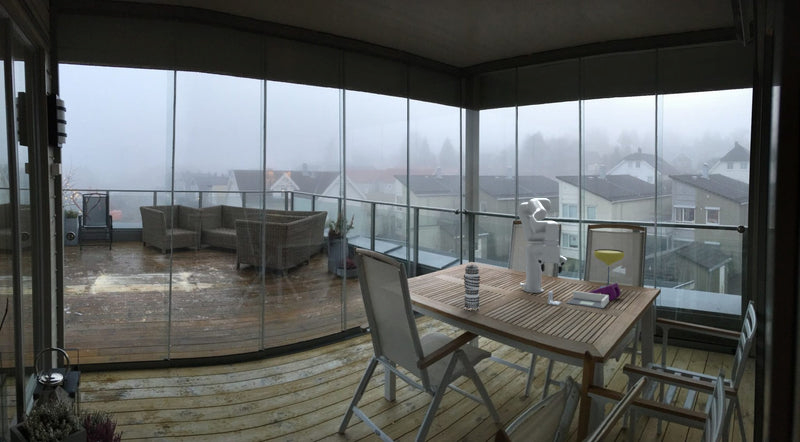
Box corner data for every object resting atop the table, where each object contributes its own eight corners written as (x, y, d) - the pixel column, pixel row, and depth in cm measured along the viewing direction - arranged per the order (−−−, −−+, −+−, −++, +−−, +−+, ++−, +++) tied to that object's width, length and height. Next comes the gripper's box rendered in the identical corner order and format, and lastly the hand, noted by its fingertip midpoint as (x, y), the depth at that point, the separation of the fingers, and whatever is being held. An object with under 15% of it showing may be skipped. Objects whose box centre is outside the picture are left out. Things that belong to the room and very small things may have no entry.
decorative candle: (467, 311, 257) (467, 267, 255) (461, 307, 266) (461, 264, 264) (482, 310, 260) (483, 266, 258) (475, 305, 269) (475, 263, 267)
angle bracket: (547, 304, 271) (548, 292, 270) (551, 301, 276) (551, 290, 275) (558, 305, 268) (558, 293, 267) (561, 303, 272) (561, 291, 272)
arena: (566, 303, 271) (566, 296, 271) (573, 298, 283) (573, 290, 283) (603, 308, 260) (603, 300, 259) (608, 302, 272) (608, 295, 271)
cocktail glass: (624, 287, 311) (625, 250, 309) (621, 292, 296) (622, 254, 294) (596, 284, 321) (596, 248, 319) (591, 289, 306) (592, 252, 304)
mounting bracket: (589, 306, 286) (617, 298, 274) (584, 293, 288) (611, 285, 276) (595, 303, 293) (622, 295, 281) (590, 291, 294) (616, 282, 282)
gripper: (535, 243, 272) (534, 271, 273) (565, 244, 262) (564, 274, 264) (539, 241, 278) (538, 269, 280) (568, 243, 268) (568, 272, 270)
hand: (551, 272), depth 272 cm, fingers open, 9 cm apart
